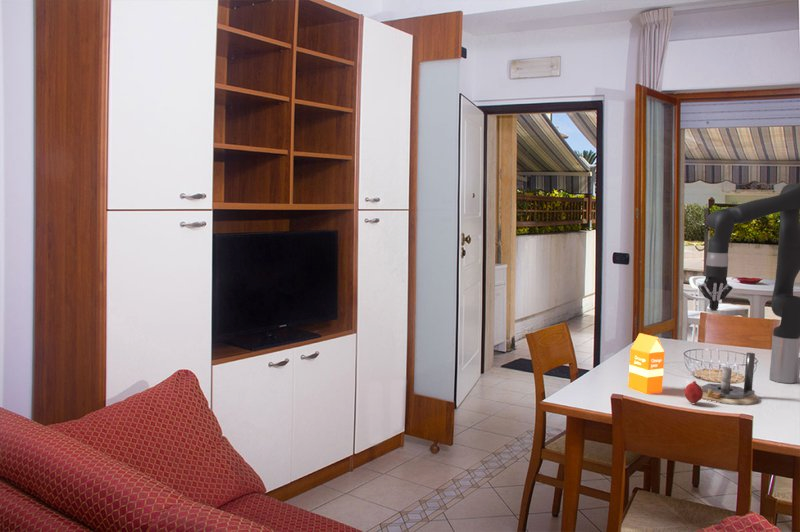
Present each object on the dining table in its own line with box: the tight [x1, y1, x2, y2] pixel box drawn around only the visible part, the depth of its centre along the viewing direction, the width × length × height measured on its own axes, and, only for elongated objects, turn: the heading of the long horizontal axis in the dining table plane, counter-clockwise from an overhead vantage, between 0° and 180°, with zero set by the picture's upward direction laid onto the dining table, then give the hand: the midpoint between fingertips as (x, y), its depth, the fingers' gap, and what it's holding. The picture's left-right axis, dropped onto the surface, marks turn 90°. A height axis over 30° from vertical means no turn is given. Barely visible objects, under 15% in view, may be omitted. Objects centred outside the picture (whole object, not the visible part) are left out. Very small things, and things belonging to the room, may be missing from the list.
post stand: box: [699, 366, 759, 406], centre depth 251 cm, size 21×21×10 cm
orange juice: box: [627, 332, 665, 395], centre depth 256 cm, size 8×9×20 cm
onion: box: [683, 380, 703, 404], centre depth 241 cm, size 6×6×8 cm
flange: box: [701, 352, 756, 399], centre depth 250 cm, size 15×18×14 cm
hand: (713, 310), depth 270 cm, fingers closed
